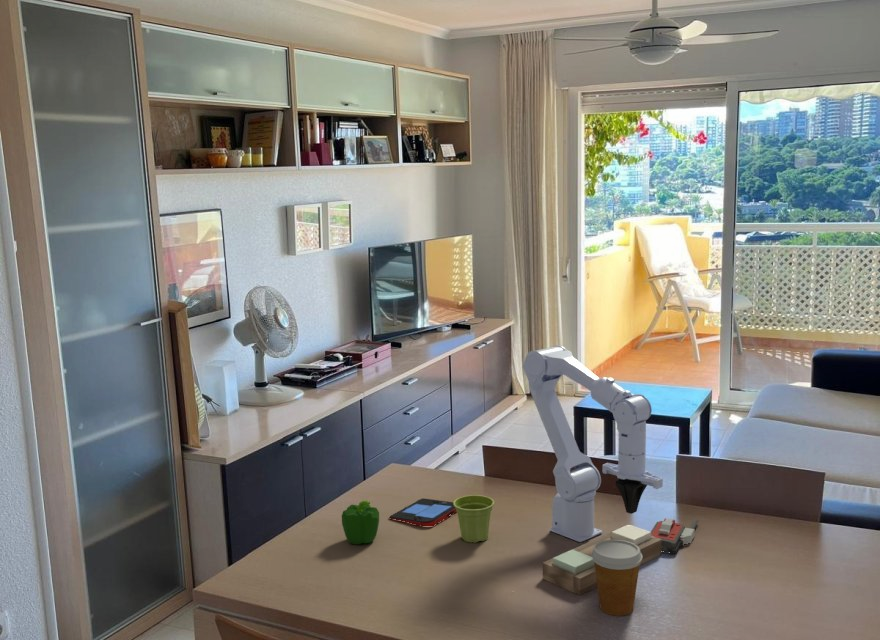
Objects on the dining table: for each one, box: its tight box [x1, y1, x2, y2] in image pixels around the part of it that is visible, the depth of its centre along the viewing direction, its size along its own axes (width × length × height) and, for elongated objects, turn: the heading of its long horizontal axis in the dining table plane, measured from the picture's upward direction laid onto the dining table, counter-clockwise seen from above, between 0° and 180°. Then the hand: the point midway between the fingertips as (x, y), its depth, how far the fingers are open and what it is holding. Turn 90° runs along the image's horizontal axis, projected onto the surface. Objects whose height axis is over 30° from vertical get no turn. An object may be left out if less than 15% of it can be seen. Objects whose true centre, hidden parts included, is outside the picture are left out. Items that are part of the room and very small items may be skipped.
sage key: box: [552, 548, 595, 575], centre depth 176 cm, size 6×6×3 cm
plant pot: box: [452, 494, 495, 544], centre depth 198 cm, size 9×9×9 cm
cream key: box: [611, 524, 651, 545], centre depth 188 cm, size 6×6×3 cm
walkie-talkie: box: [650, 518, 699, 554], centre depth 196 cm, size 9×4×20 cm
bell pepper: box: [341, 500, 380, 545], centre depth 198 cm, size 8×8×10 cm
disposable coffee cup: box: [591, 540, 643, 617], centre depth 164 cm, size 10×10×12 cm
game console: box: [389, 498, 457, 527], centre depth 214 cm, size 14×13×2 cm
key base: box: [541, 526, 662, 596], centre depth 182 cm, size 10×27×4 cm, turn 131°
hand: (631, 511), depth 187 cm, fingers closed
